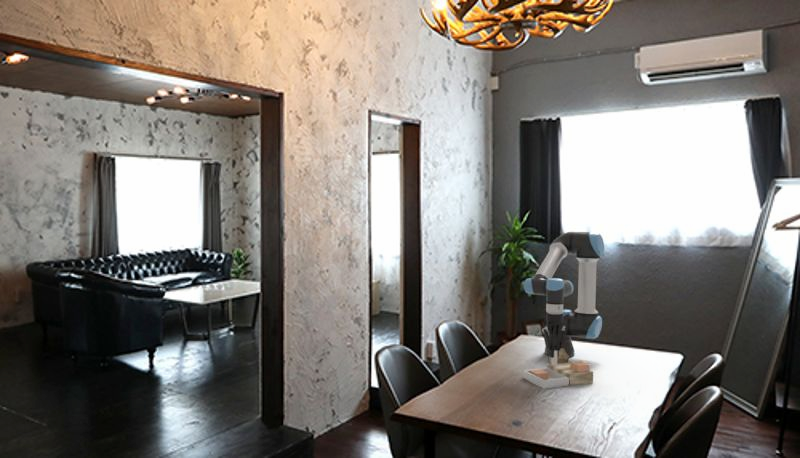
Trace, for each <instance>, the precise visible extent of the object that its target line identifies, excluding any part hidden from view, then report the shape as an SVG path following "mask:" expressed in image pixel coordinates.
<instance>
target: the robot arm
mask: <svg viewBox="0 0 800 458" xmlns="http://www.w3.org/2000/svg"><path fill="white" fill-rule="evenodd" d="M548 249H549V251H548V253H547V254H546V255H545V256H546V257H544V260H543V261H542V262H541V264H540V266H539V268H538V270H537V271H536V272H535V275H534V276H533V278H532V277H529V278H526V279H525V280H524V282H523V283H524V284H523V289H524V292H525V293H526V294H529V295H530V294H531V295H538V296H546V297H545V298H546V299H545V300H546V304H545V307H546V308H545V311H546V314H545V315H546V316H545V320H546V323H545V326H544V327H542V328H541V329H540V331H541V332H542V335H543V339H544V344H545V347H544V354H545V355H547V356H549V357H551V364H553V365H557V357H559V351H560V349H562V348H563V349H564V350H565V352H566V354H567V355H569V358H571V357H574V356H575V348H574V346H573V345H574V344H573V342H572V337H577V338H584V339H594V340H595V339H597V338H598V337H599V335H600V333H601V331H602V327H603V319H602V316H600V315H599V311H598V310H597V309H596V300H597V299H596V294H597V293H596V292H597V291H596V290H597V262H598V261H599V260H600V259H601V256H603V255H604V253H605V243H604V238H603V237H602V234H600V233H599V232H592V231H569V232H564V233H563V234H561V235H559V236H557V237H556V238H555V239H554V240H553V241H552V242H551V244H550V245H549V248H548ZM568 255H575V258H576V260H577V262H578V279H577V280H578V285H577V286H578V288H577V289H578V290H577V308H576V309H574V313H573V312H572V310H571V309H564V298H565V297H569V296H571V295H572V293H573V292H574V290H575V289H574V288H575V287H574V284H573V283H572V281H570V280H567V279H562V278H556V277H555V278H554V275H555V272H556V271H557V269H558V267H559V265H560V264H561V262H562V261H563V259H565V258H566V257H567V256H568Z"/></svg>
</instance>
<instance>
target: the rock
mask: <svg viewBox="0 0 800 458" xmlns="http://www.w3.org/2000/svg"><path fill="white" fill-rule="evenodd" d="M548 359H549V360H548V366H549V365H550V364H551V357H550V356H549V357H548ZM569 362H570V357H569V355H567V354H566V352H565V350H564V349H563V348H562V349H560V351H559V357H557V364H559V363H569Z"/></svg>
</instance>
